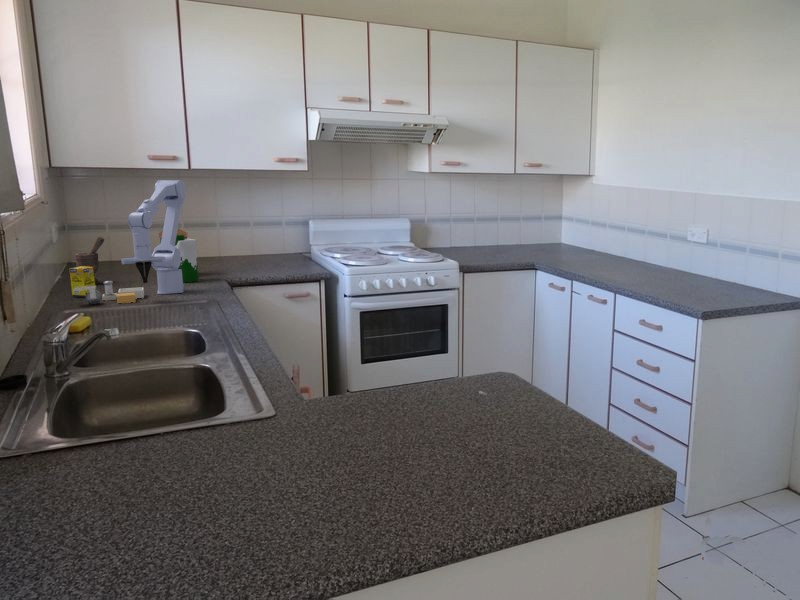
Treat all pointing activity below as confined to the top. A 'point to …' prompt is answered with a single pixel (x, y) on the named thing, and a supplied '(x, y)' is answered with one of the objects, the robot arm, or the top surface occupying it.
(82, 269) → the supplement box
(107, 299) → the pin bracket
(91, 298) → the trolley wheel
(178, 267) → the robot arm
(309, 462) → the top surface
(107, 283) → the pin
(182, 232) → the whiskey bottle
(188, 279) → the milk carton
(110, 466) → the top surface
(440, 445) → the top surface
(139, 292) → the tray
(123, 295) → the block
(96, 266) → the mortar and pestle
